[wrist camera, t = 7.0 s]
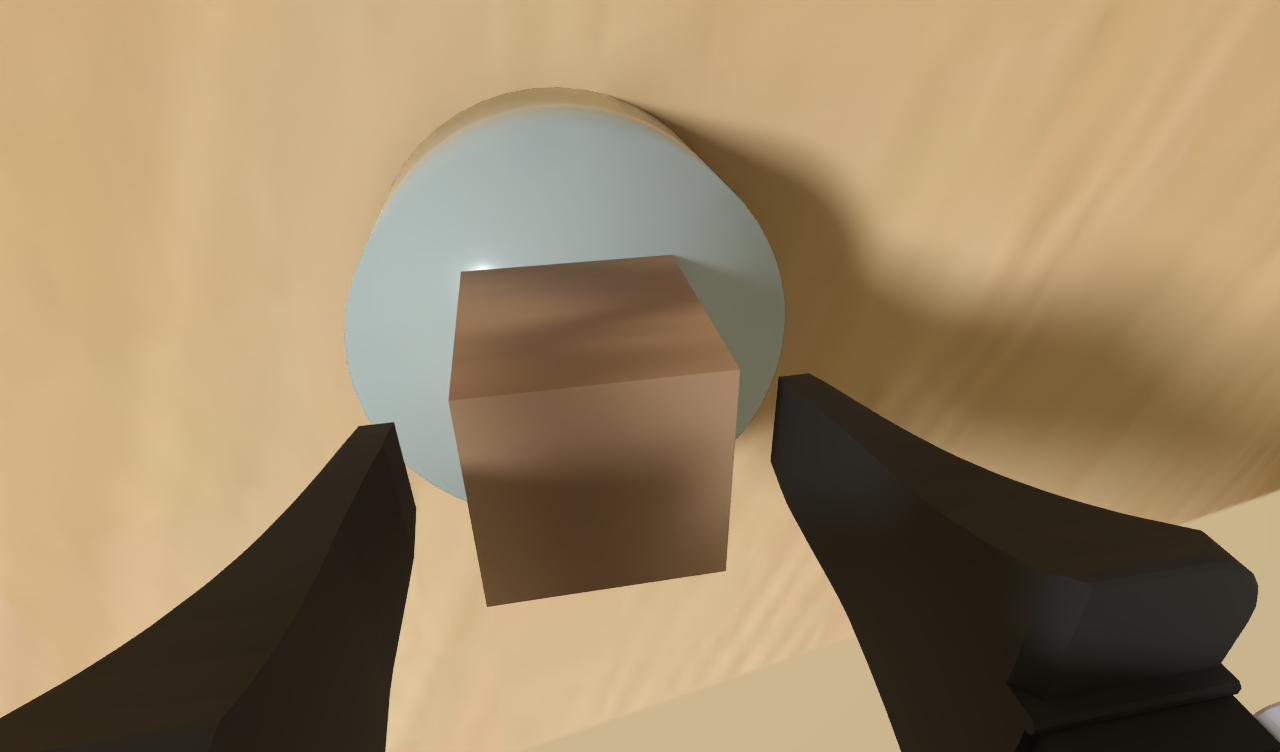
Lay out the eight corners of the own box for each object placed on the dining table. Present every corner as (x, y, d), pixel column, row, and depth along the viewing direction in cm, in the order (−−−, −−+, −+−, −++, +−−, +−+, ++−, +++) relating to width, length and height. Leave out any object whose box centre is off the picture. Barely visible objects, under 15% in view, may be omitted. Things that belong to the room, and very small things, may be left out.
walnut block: (671, 254, 15) (740, 369, 11) (669, 422, 18) (725, 571, 13) (460, 271, 15) (448, 400, 10) (488, 444, 17) (487, 606, 13)
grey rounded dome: (746, 91, 19) (820, 132, 14) (707, 404, 24) (754, 502, 19) (349, 80, 17) (302, 123, 13) (401, 422, 22) (379, 534, 18)
